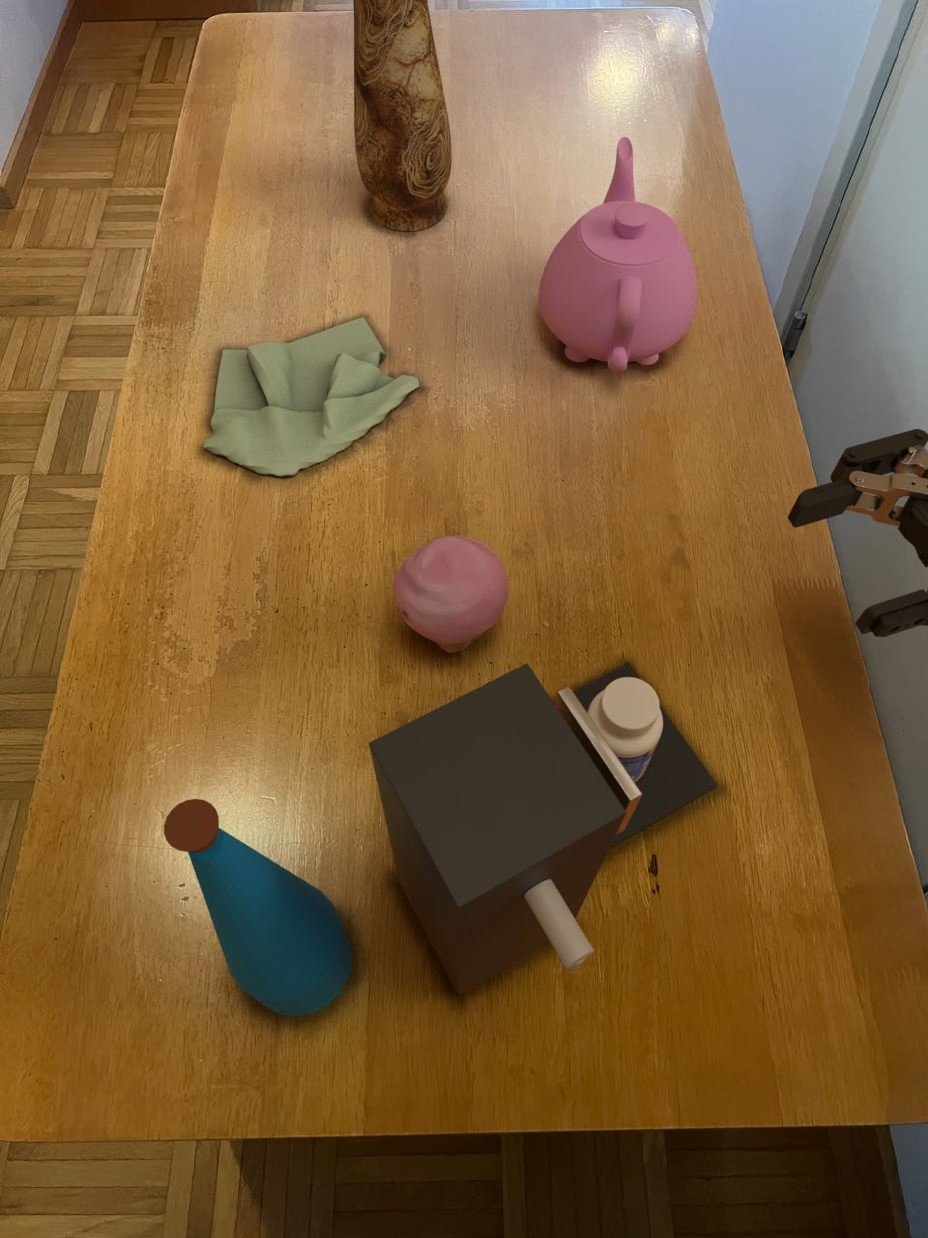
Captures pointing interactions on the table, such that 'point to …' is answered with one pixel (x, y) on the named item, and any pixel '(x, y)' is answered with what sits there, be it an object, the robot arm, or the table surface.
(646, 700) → the pill bottle
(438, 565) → the cupcake
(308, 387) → the cloth
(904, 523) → the robot arm
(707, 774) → the mat
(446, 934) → the soap dispenser
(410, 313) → the table surface
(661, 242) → the teapot
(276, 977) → the bottle
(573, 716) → the plate
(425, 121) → the vase
